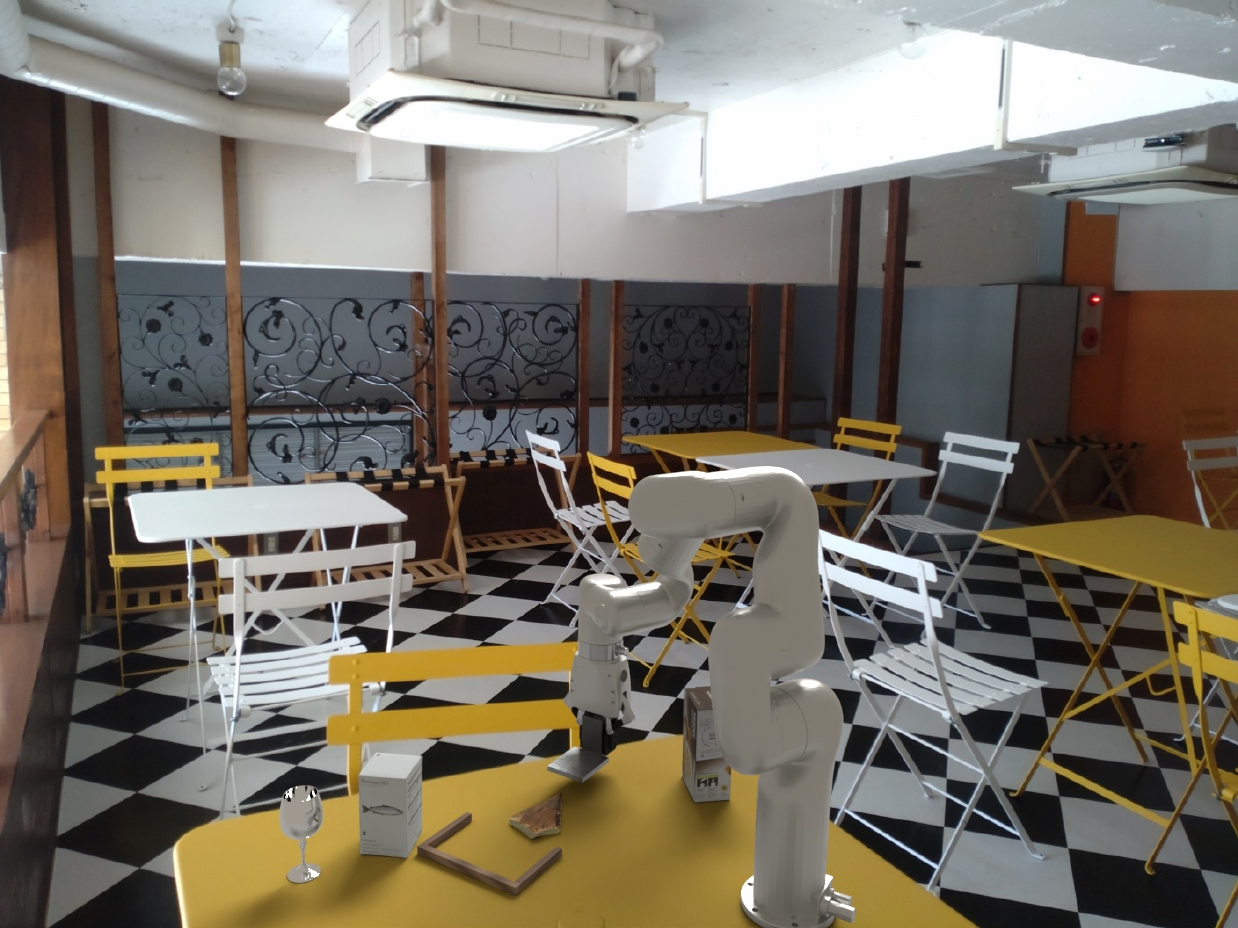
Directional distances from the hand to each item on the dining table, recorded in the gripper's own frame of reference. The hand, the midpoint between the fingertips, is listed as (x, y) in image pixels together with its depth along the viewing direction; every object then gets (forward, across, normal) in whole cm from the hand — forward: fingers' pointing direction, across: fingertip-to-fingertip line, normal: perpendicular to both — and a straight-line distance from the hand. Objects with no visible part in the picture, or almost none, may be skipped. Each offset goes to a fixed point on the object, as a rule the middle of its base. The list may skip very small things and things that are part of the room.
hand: (597, 747), depth 159 cm
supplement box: (+4, +14, +35) cm, 38 cm away
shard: (+5, 0, +18) cm, 19 cm away
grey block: (+1, 0, +4) cm, 4 cm away
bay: (+4, 0, +30) cm, 30 cm away
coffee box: (+4, -18, -5) cm, 19 cm away
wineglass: (+4, +19, +47) cm, 51 cm away
